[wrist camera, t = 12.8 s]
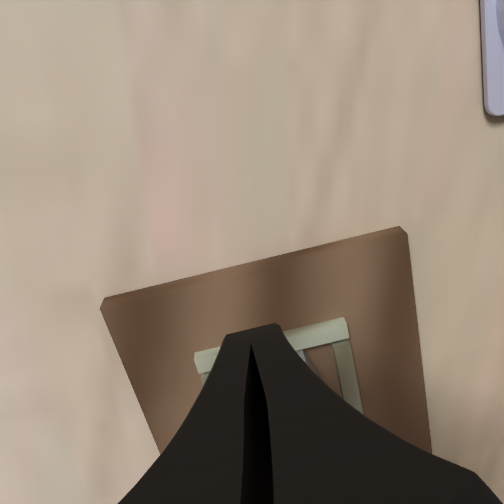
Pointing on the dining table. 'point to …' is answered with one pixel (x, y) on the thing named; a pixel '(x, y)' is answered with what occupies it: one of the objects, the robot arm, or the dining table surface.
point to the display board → (284, 330)
